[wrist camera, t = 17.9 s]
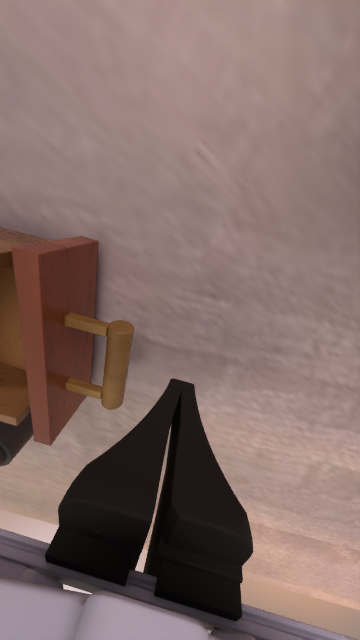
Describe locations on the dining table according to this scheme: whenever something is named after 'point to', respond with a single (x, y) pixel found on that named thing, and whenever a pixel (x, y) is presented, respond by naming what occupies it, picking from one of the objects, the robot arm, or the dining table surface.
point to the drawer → (53, 333)
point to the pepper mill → (14, 438)
